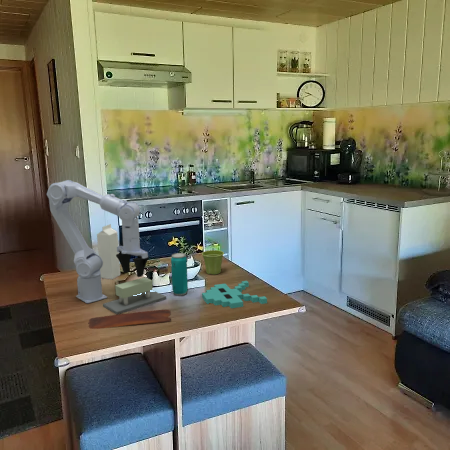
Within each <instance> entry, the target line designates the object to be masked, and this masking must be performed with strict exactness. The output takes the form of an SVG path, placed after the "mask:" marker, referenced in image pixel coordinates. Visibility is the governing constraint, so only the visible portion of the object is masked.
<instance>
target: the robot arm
mask: <svg viewBox="0 0 450 450" xmlns="http://www.w3.org/2000/svg"><path fill="white" fill-rule="evenodd" d="M46 196H47V198H48V203H49V210H50V212H51V215H52V216H53V218H54V220H55V221H56V223H57V226H58V227H59V229H60V231H61V232H62V234H63V236H64V238H65V239H66V242H67V244H68V245H69V247H70V249H71V250H72V252H73V254H74V257H73V263H74V266H75V271H76V273H77V275H78V276H77V280H76V282H77V285H76V286H77V295H76V296H75V297H76V298H77V299H79V300H81V301H82V302H84V303H85V304H91V303H95V302H99V301H100V300H105V299H107V298H108V296H107V295H105V294H103V285H102V284H103V283H102V278H101V272H100V269H101V268H102V266H103V261H102V258H101V257H100V256H99V254H98V253H97V252H96V251H95V249H93V248H91V247H90V246H89V245H88V243H87V242H86V239H85V238H84V236H83V235H82V232H81V231H80V229H79V227H78V225H77V224H76V222H75V220H74V218H73V216H72V215H71V212H70V211H69V206H70V204H71V201H72V200H73V199H74V198H82V199H83V200H87V201H89V202H92V203H95V204H98V205H99V206H100V208H101V210H103V211H105V212H108V213H110V214H112V215H116V216H117V217H118V218H119V219H120V221H121V228H122V229H121V233H122V245H118V247H117V252H119V254H116V257H117V258H118V260H119V263H120V265H121V266H120V267H121V268H122V271H123V273H124V274H126V273H129V272H130V268H131V265H130V264H131V257H132V256H135V258H134V257H133V258H132V261H133V263H134V266H135V270H136V276H137V277H138V278H142V277H143V276H144V273H145V267H146V265H147V263H148V261H149V254H148V251H146V250H143V249H142V248H141V245H140V243H141V241H140V229H139V228H140V227H139V216H140V214H141V208H140V206H139V205H138V204H137V203H135V202H134V201H129V202H128V200H127V199H124V200H123V199H121V198H118V197H116V195H115V194H114V193H110V194H109V193H107V194H105V195H103V194H101V193H98V192H96V191H95V190H93V189H90V188H88V187H86V186H84V185H82V184H81V183H79V182H76V181H73V180H70V179H66V180H63V181H59V182H53V183H51V184H50V185H49V186H48V189H47V192H46Z"/></svg>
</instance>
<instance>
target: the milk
mask: <svg viewBox="0 0 450 450" xmlns="http://www.w3.org/2000/svg"><path fill="white" fill-rule="evenodd" d="M96 239H97V252H98V253H97V255H99V256H100V257H101V258H102V261H103V266H102V268H101V269H100V272H101V279H107V280H114V279H115V278H118V277H119V276H121V266H120V265H121V263H120V261H119V260H118V258H117V257H116V254H119V252H117V247H118V246H119V237H118V231H117V230H116V229H114V228H112V224H111V223H110V224H107V225H104V226H102V230H101V231H100V232H98V233H97V234H96Z"/></svg>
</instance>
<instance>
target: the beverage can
mask: <svg viewBox="0 0 450 450" xmlns="http://www.w3.org/2000/svg"><path fill="white" fill-rule="evenodd" d="M186 256H187V255H186V254H185V253H182V252H179V253H172V254H171V259H170V263H171V264H170V265H171V267H170V269H171V284H172V285H171V288H172V289H171V290H172V292H173V294H174V295H175V296H185V295H186V294H187V293H188V289H189V285H188V281H189V280H188V263H187V262H188V261H187V259H188V258H187V257H186Z"/></svg>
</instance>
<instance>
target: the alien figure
mask: <svg viewBox="0 0 450 450" xmlns="http://www.w3.org/2000/svg"><path fill="white" fill-rule="evenodd" d="M246 288H250V283H249V281H248V280H242V281H241V282H240V283H238V284H237V285H236V286H234V287H233V288H230V287H229V286H228V285H227V283H219V284H214V285H213V286H212V287H210V288H209V289H206V290H205V291H206V292H202V293H201V298H202V299H203V301H204V302H205V303H206V304H207V305H210V304H209V303H211V304H213V305H214V306H222V307H223V308H225V307H229V308H230V309H236V308H238V309H239V308H243V307H244V302H249V301H250V302H252V303H253V304H254V303H259V304H260V305H264V304H268V298H267V297H266V296H263V295H262V296H258V295H257V294H254V295H250V294H249V293H242V292H243V290H244V291H245V290H246Z"/></svg>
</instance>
